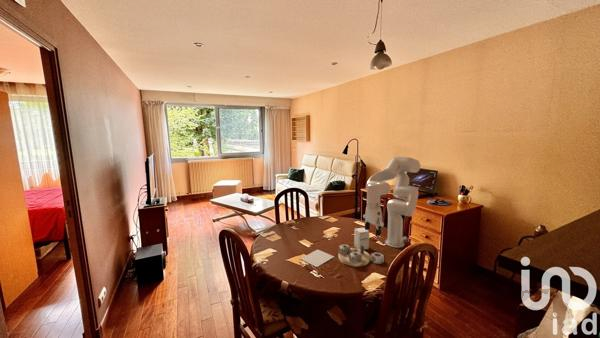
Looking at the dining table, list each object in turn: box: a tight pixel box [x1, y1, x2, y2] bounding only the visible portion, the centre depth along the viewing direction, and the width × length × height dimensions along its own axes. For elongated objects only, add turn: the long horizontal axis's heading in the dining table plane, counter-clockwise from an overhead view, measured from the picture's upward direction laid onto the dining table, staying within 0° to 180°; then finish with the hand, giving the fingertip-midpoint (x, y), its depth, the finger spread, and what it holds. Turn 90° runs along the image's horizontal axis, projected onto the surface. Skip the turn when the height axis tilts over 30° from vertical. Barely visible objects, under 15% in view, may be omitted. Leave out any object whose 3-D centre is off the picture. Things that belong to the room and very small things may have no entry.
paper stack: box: [300, 249, 335, 268], centre depth 142 cm, size 23×25×1 cm
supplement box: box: [353, 227, 370, 250], centre depth 161 cm, size 7×7×13 cm
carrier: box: [338, 244, 371, 268], centre depth 147 cm, size 19×19×7 cm
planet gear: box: [370, 251, 385, 265], centre depth 143 cm, size 7×7×4 cm
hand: (372, 232), depth 142 cm, fingers open, 9 cm apart
